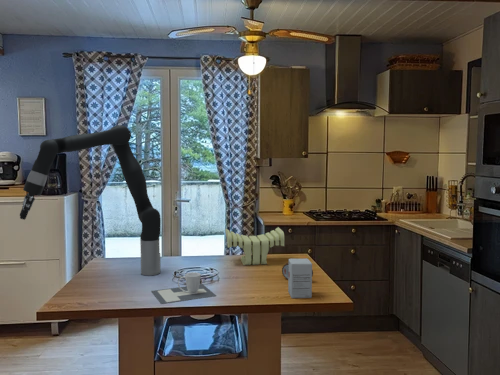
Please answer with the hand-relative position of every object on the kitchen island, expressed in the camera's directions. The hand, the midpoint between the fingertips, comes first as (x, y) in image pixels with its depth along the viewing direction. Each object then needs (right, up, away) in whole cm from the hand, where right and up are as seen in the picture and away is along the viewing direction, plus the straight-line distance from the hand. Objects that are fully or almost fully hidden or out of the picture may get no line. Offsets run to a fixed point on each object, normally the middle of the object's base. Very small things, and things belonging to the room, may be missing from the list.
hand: (22, 217), depth 202 cm
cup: (+73, -33, 0) cm, 80 cm away
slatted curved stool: (+101, -28, +52) cm, 118 cm away
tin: (+122, -31, +19) cm, 127 cm away
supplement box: (+121, -33, -2) cm, 125 cm away
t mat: (+70, -33, -1) cm, 77 cm away
